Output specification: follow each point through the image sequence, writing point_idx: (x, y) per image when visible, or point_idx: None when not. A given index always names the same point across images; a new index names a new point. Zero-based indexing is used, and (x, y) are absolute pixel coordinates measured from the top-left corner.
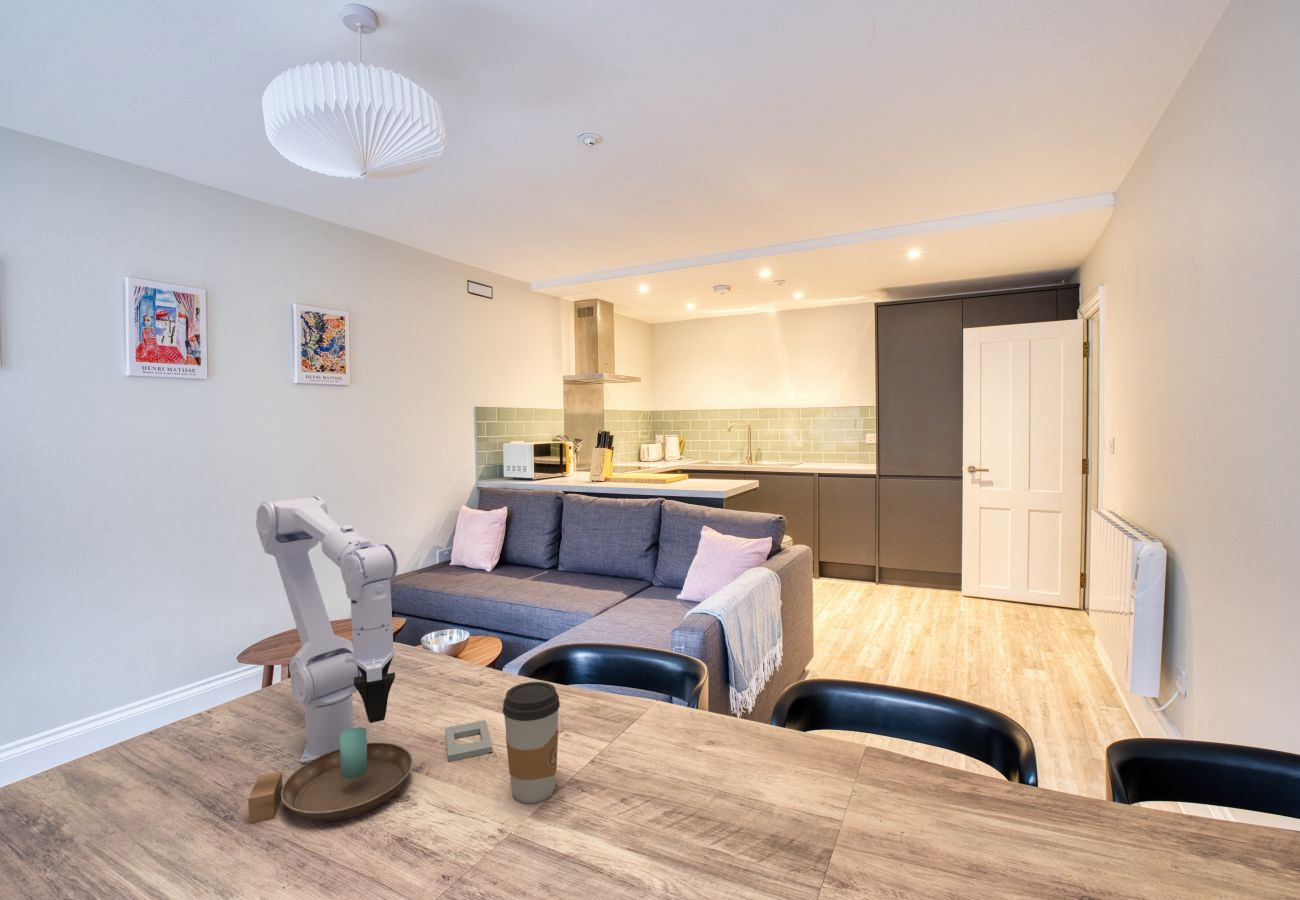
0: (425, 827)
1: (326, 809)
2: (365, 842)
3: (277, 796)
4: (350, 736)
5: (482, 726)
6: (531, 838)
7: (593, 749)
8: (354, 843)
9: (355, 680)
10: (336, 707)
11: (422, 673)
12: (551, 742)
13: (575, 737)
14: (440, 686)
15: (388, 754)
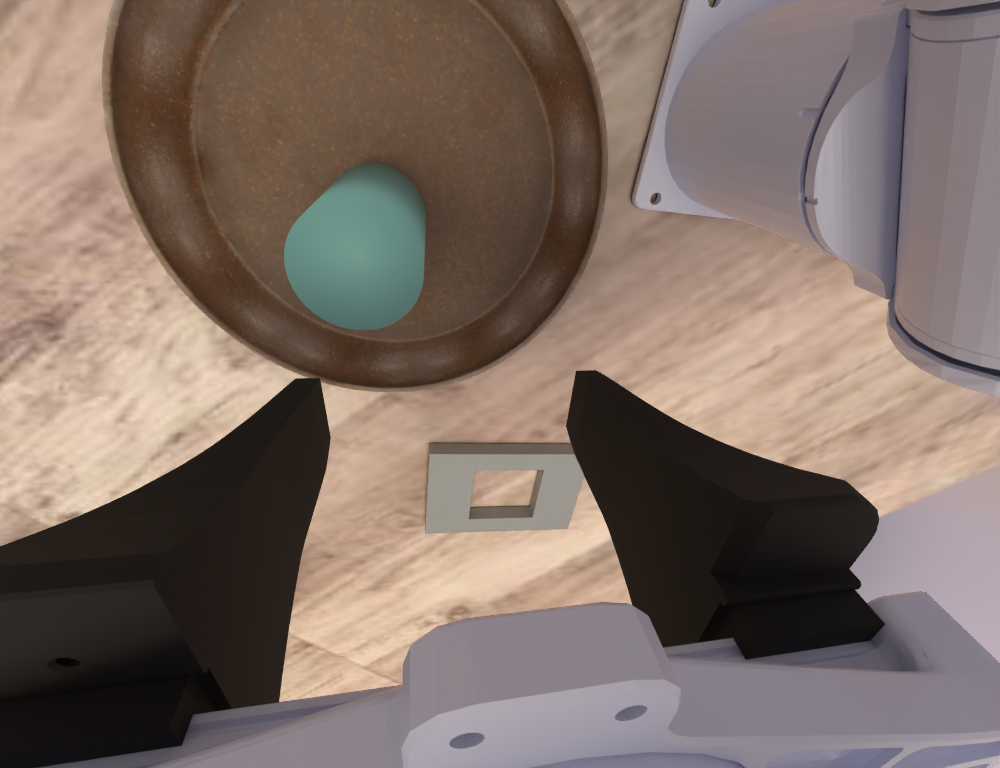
0: (106, 382)
1: (272, 96)
2: (40, 228)
3: None
4: (321, 256)
5: (539, 522)
6: None
7: (350, 648)
8: (36, 194)
9: (4, 614)
10: (783, 175)
11: (985, 408)
12: None
13: (411, 632)
14: (858, 443)
15: (513, 318)
